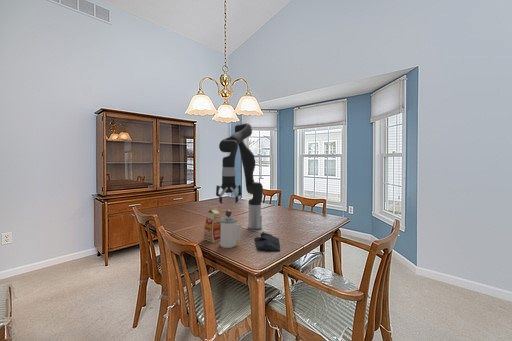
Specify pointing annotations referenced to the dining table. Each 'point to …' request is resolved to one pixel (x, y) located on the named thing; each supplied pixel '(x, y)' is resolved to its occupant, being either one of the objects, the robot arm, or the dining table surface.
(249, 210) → the robot arm
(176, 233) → the dining table surface
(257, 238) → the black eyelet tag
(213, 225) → the milk carton
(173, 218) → the dining table surface
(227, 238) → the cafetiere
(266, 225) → the dining table surface
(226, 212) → the plunger
